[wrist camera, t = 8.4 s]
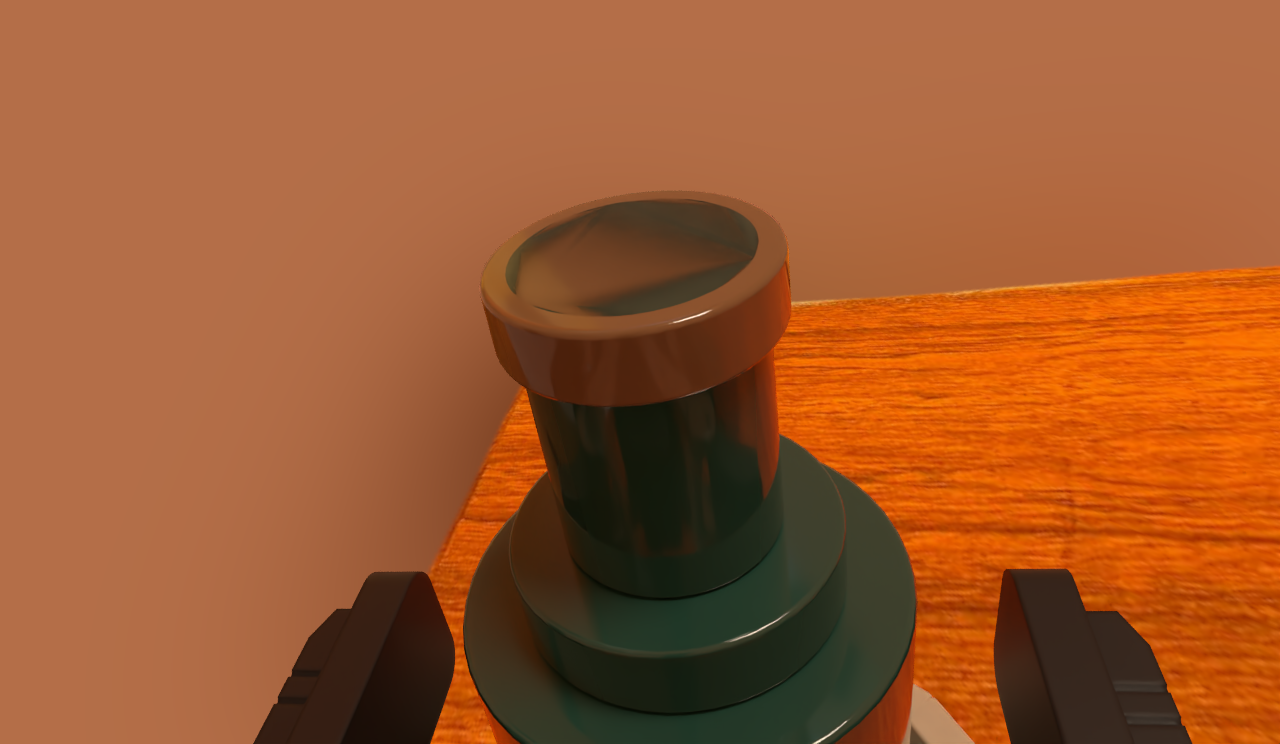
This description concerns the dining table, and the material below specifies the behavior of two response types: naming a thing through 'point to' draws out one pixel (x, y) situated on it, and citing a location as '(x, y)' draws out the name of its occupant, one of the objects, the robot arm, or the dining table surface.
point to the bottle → (676, 502)
